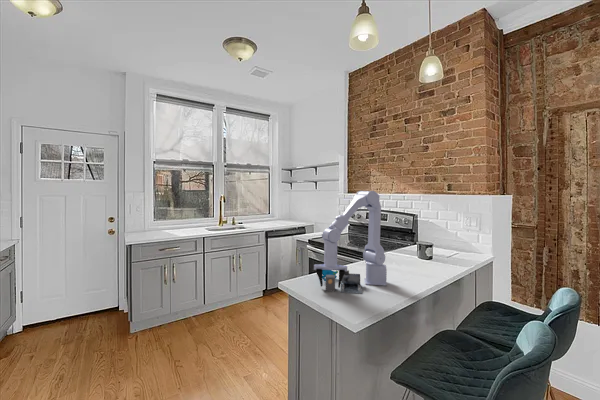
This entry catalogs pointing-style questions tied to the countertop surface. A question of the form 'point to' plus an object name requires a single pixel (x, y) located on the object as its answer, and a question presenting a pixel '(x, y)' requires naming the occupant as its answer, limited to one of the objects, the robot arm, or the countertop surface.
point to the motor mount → (351, 283)
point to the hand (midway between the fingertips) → (330, 286)
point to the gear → (328, 273)
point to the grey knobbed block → (330, 282)
